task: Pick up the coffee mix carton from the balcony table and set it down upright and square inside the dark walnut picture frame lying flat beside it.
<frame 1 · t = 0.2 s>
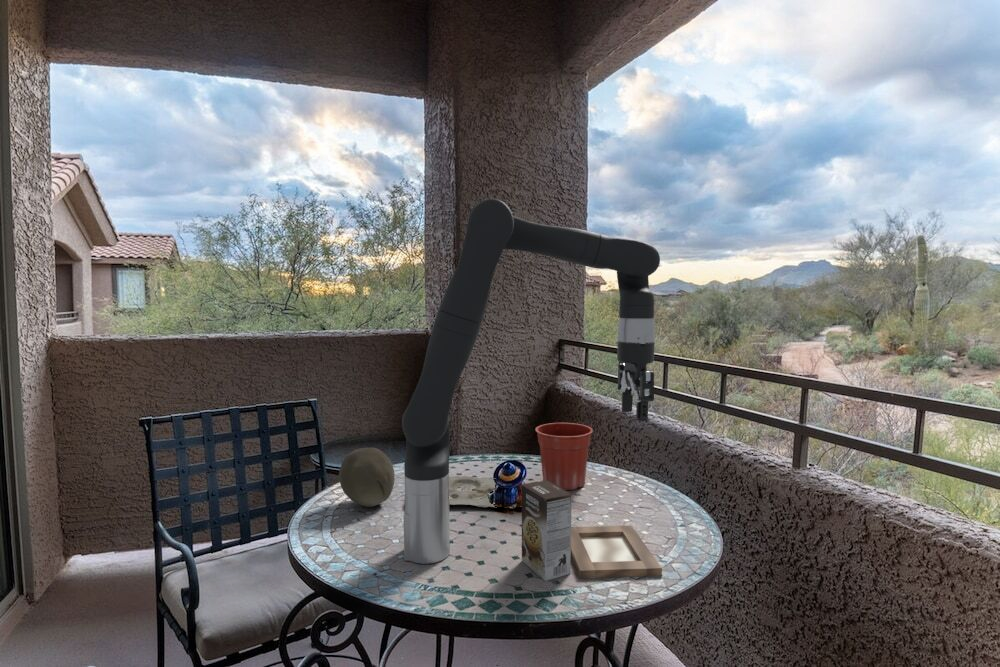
hand: (634, 415, 109), 29 cm above the table, tool pointing down, fingers open, 8 cm apart
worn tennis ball: (367, 506, 135), on the table
flower pot: (563, 484, 151), on the table
coffee box: (545, 568, 103), on the table
walnut frame: (608, 552, 109), on the table
stone relief: (467, 497, 141), on the table
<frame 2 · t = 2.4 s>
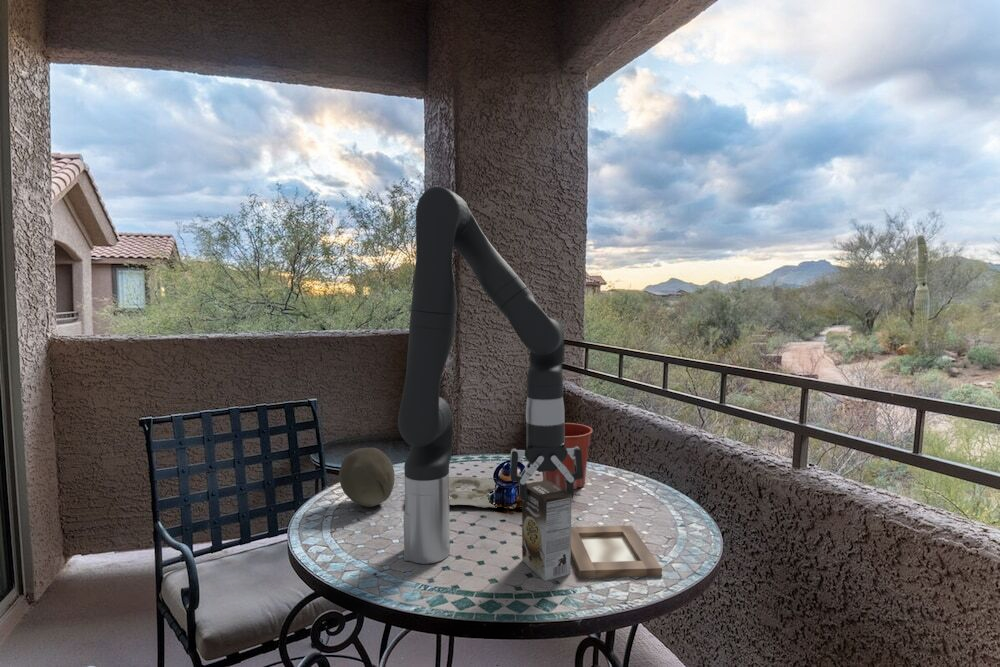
hand: (546, 500, 102), 14 cm above the table, tool pointing down, fingers open, 8 cm apart
coffee box: (545, 568, 103), on the table, touching gripper
everything else where it was.
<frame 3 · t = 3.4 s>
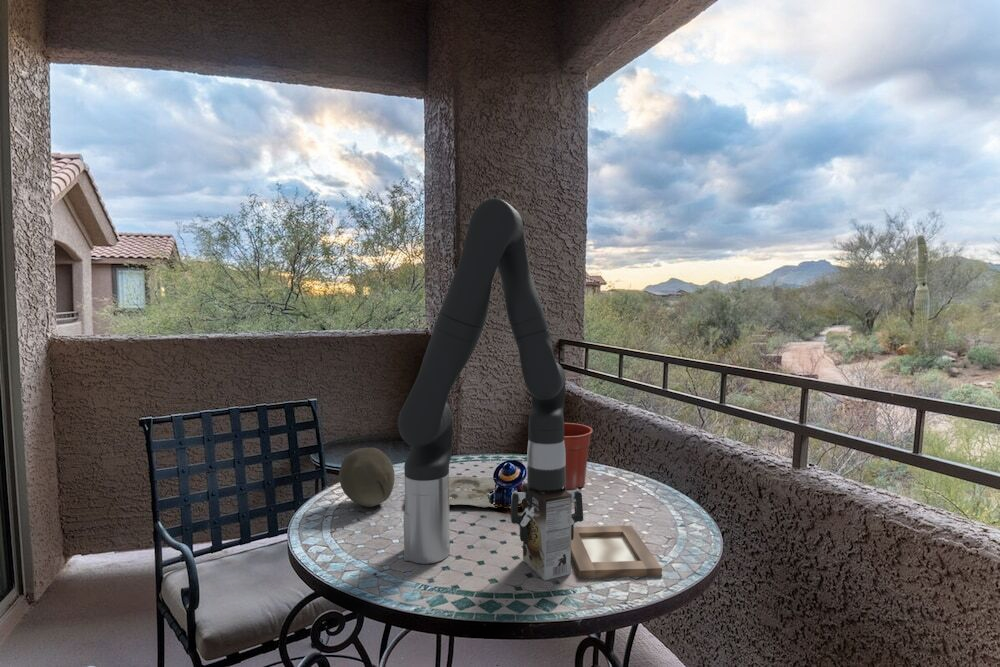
hand: (546, 541, 103), 5 cm above the table, tool pointing down, fingers open, 8 cm apart
nothing on the table moved.
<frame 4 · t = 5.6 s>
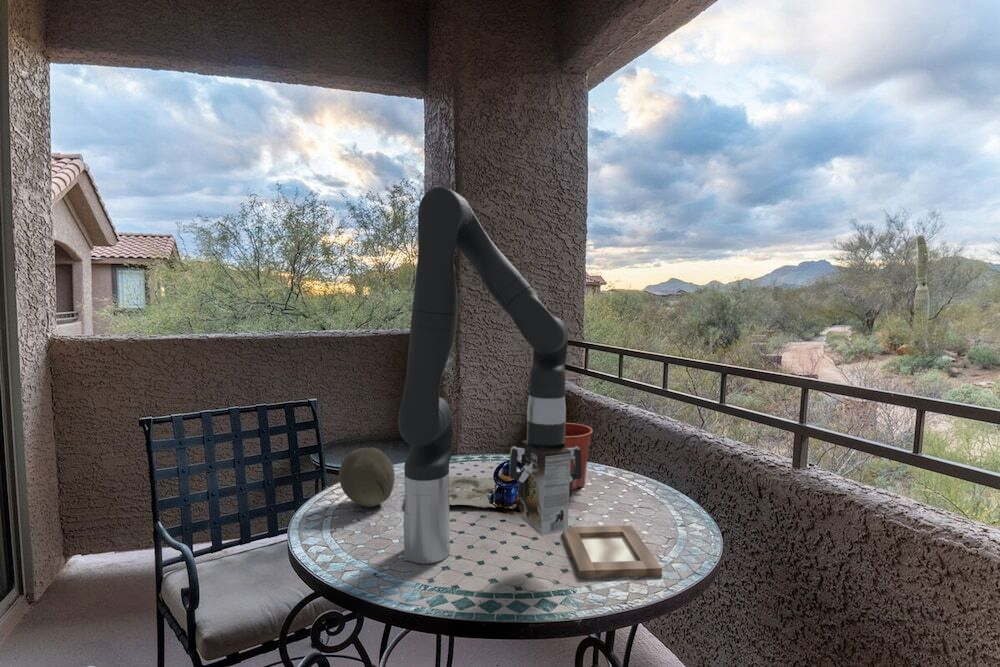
hand: (544, 499, 102), 14 cm above the table, tool pointing down, fingers closed on coffee box, 8 cm apart
coffee box: (543, 525, 103), point 9 cm above the table, touching gripper
everything else where it was.
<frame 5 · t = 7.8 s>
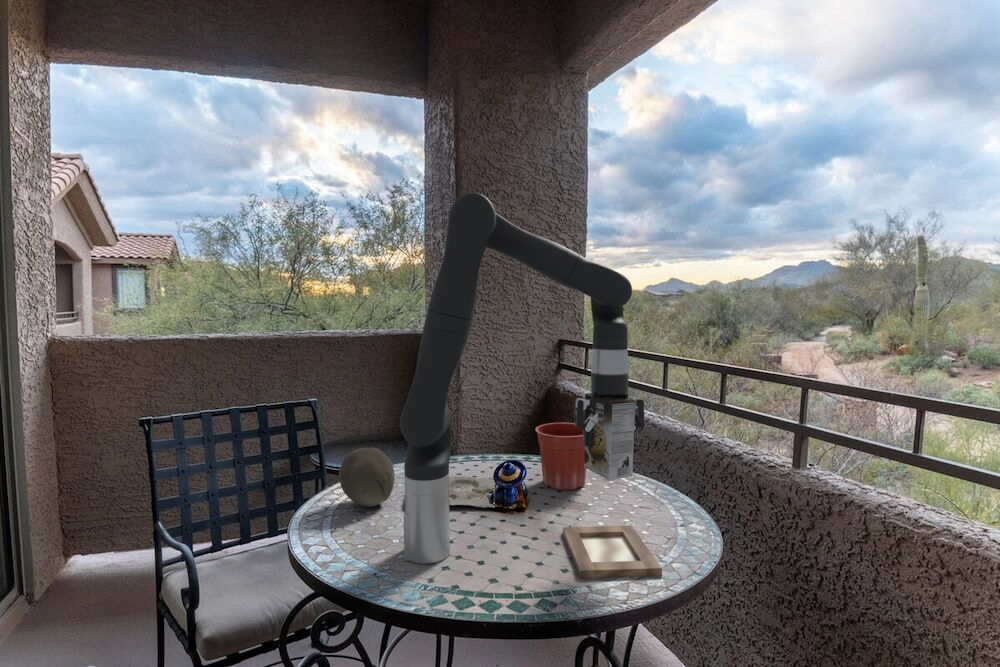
hand: (608, 448, 107), 23 cm above the table, tool pointing down, fingers closed on coffee box, 8 cm apart
coffee box: (607, 473, 108), point 17 cm above the table, touching gripper
everything else where it was.
when the fingers open (6 cm above the table, at t = 11.8 s): coffee box stays where it is, resting on walnut frame.
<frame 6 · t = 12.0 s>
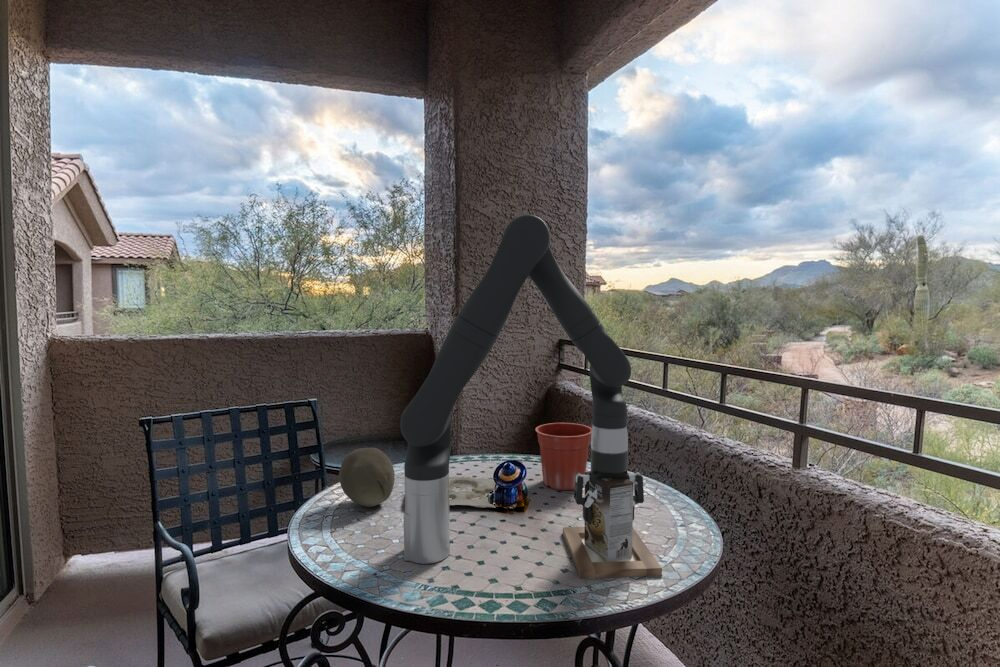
hand: (608, 522, 108), 7 cm above the table, tool pointing down, fingers open, 8 cm apart
coffee box: (607, 551, 109), resting on walnut frame
everything else where it was.
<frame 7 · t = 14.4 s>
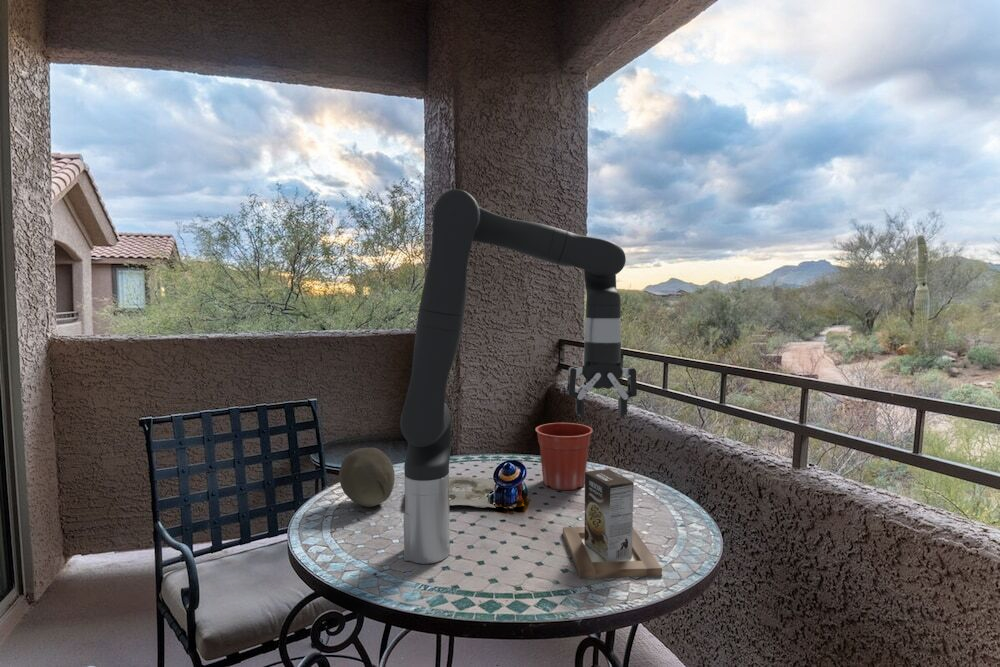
hand: (601, 416, 108), 29 cm above the table, tool pointing down, fingers open, 8 cm apart
nothing on the table moved.
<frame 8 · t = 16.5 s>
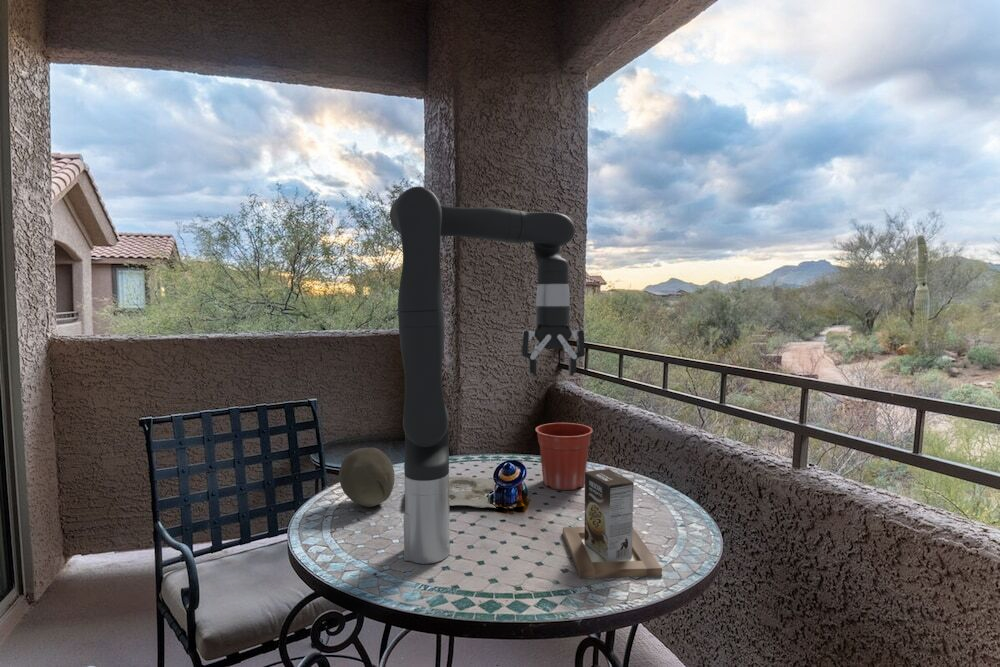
hand: (552, 375, 118), 36 cm above the table, tool pointing down, fingers open, 8 cm apart
nothing on the table moved.
at the end: coffee box 0.1 cm off-centre on the walnut frame, point 0.2 cm above the walnut frame's base; coffee box tilted 0°; the gripper is holding nothing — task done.
